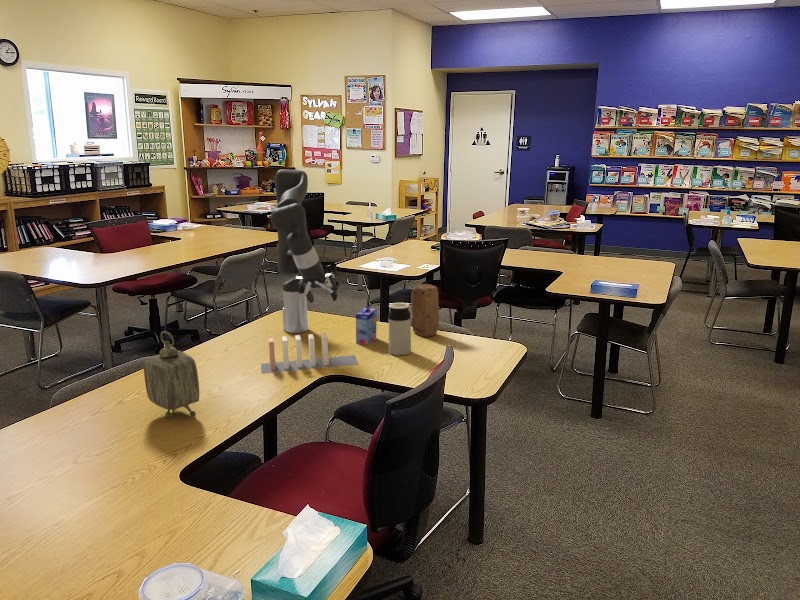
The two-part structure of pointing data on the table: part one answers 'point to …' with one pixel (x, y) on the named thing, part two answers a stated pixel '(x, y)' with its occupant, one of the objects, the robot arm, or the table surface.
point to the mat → (306, 365)
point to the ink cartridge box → (366, 325)
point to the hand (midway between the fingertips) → (323, 300)
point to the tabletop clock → (171, 378)
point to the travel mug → (399, 329)
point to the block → (425, 310)
